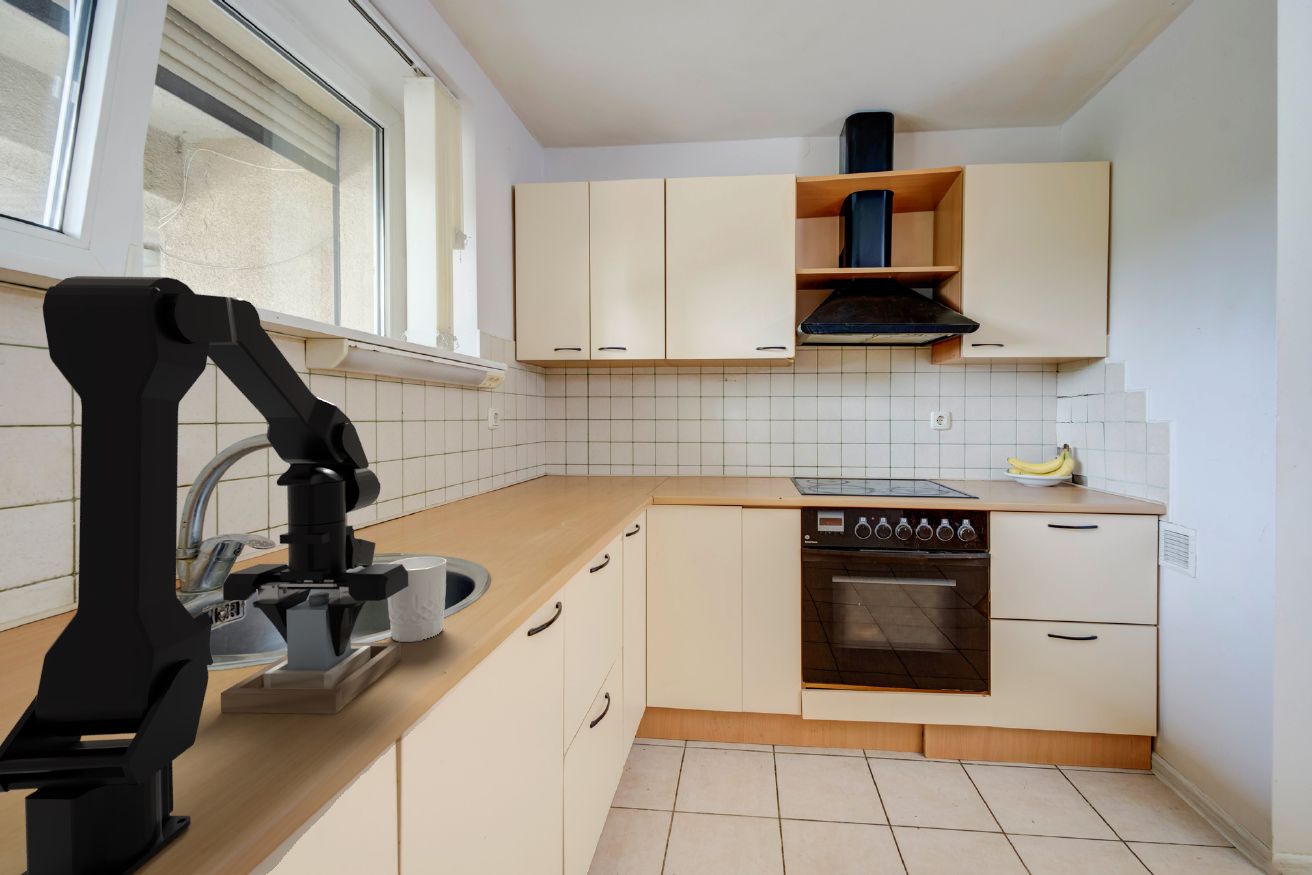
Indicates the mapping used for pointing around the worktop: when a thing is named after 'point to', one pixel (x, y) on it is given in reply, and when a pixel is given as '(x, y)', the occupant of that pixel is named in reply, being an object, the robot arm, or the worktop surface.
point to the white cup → (419, 600)
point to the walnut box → (311, 683)
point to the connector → (312, 635)
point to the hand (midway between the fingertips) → (319, 654)
